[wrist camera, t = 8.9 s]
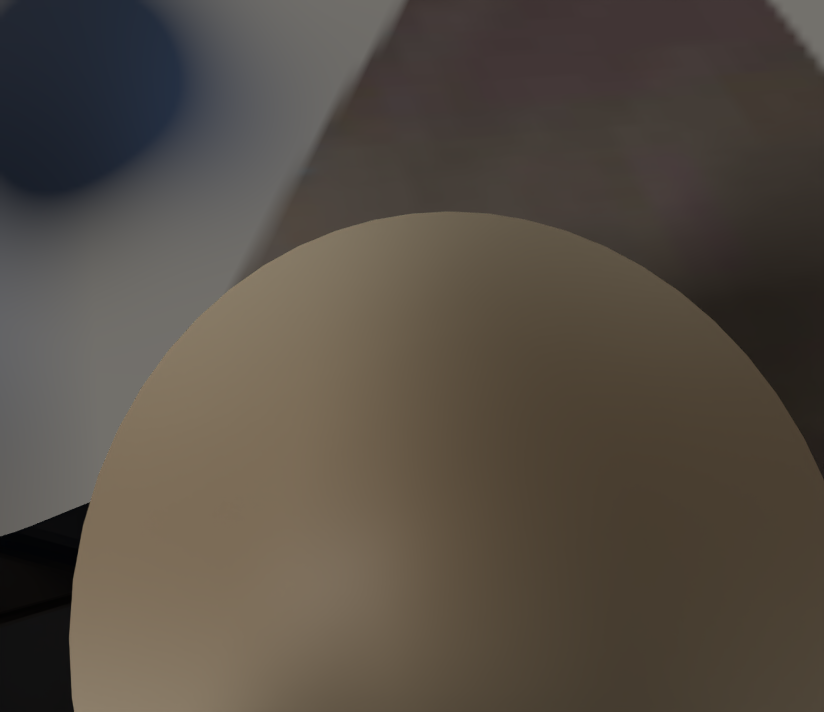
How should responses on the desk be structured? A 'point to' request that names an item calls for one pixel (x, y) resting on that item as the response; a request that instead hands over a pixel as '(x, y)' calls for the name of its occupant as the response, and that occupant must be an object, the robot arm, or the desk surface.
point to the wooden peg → (452, 495)
